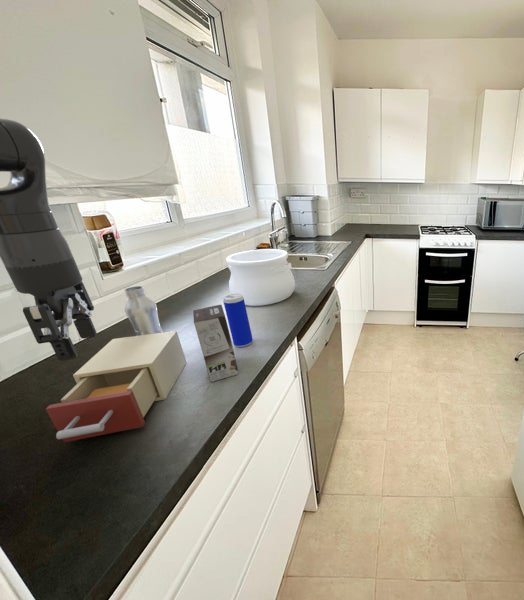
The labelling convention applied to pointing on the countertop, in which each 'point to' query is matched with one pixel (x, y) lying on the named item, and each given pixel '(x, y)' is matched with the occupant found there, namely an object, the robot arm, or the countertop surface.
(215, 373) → the coffee box
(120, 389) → the orange rectangular block
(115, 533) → the countertop surface
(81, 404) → the drawer
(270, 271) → the pot
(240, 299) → the beverage can
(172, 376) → the cabinet
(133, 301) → the plastic bottle
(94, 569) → the countertop surface
